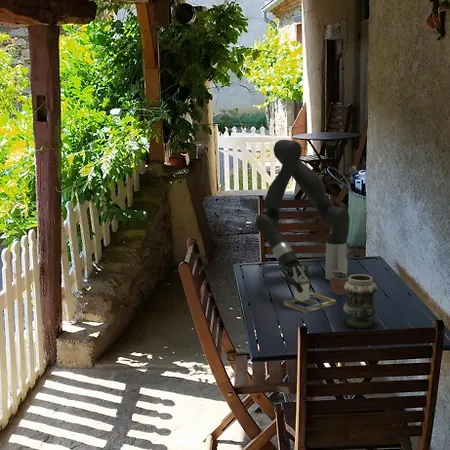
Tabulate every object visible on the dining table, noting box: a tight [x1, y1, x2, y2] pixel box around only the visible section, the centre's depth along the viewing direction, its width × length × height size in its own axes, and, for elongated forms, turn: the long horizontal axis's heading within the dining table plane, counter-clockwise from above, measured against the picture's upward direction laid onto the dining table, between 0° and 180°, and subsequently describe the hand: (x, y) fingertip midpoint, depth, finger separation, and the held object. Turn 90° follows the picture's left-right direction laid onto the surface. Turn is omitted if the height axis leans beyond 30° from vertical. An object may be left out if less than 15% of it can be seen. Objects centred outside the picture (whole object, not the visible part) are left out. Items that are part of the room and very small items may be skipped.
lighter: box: [329, 271, 350, 296], centre depth 268 cm, size 8×3×10 cm, turn 71°
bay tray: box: [282, 292, 336, 314], centre depth 256 cm, size 17×13×2 cm
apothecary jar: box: [342, 273, 378, 329], centre depth 233 cm, size 12×12×18 cm
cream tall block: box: [294, 278, 310, 302], centre depth 253 cm, size 4×4×8 cm
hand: (305, 290), depth 251 cm, fingers closed on cream tall block, 4 cm apart
